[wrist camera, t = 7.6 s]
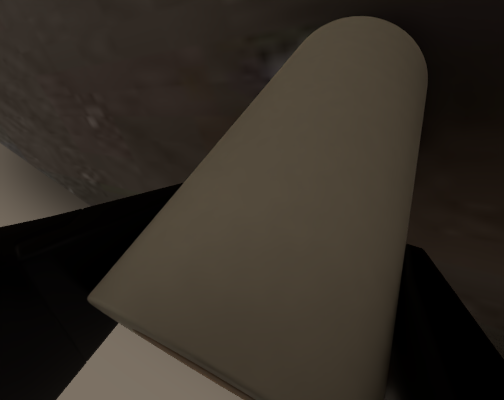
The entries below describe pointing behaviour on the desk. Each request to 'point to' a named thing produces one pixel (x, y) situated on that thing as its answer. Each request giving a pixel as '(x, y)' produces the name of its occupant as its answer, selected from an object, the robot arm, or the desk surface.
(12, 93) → the desk surface
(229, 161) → the paper towel roll
